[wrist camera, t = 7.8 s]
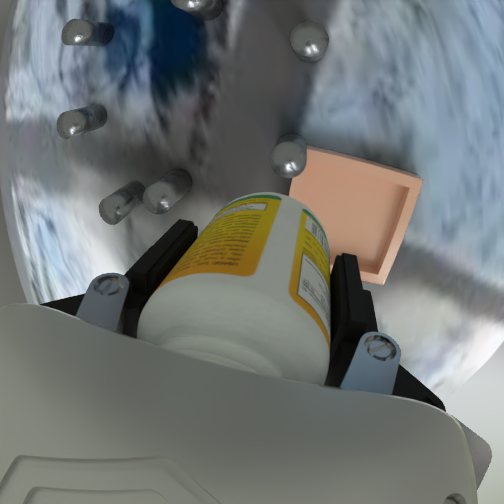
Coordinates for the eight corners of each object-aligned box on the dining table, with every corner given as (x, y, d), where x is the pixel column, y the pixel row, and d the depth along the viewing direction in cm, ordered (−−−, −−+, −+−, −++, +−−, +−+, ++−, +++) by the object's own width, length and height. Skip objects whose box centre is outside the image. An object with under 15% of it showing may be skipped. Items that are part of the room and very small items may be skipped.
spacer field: (332, 7, 18) (336, -11, 14) (289, 234, 29) (284, 262, 25) (98, 8, 20) (66, 2, 16) (91, 196, 31) (64, 214, 27)
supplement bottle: (351, 224, 12) (383, 448, 4) (294, 311, 15) (259, 501, 7) (234, 166, 12) (79, 324, 4) (195, 265, 15) (90, 433, 7)
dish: (416, 174, 24) (423, 180, 22) (380, 274, 30) (383, 285, 28) (299, 143, 25) (298, 147, 23) (277, 252, 31) (275, 261, 29)
